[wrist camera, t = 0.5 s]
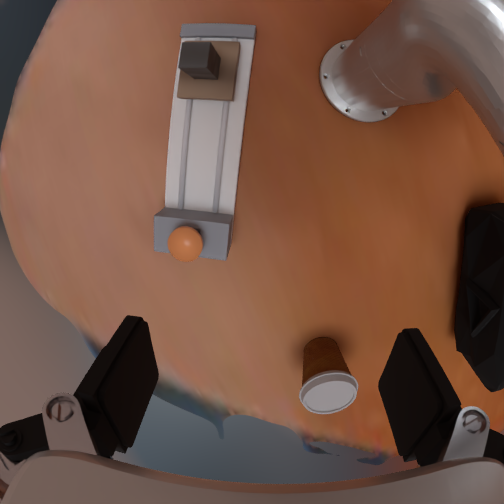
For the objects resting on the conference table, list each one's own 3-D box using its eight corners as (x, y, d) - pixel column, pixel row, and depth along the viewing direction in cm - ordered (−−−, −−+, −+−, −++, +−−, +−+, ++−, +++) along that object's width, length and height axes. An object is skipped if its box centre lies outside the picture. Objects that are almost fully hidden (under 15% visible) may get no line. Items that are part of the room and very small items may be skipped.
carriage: (188, 44, 31) (167, 23, 23) (240, 46, 31) (233, 22, 23) (181, 98, 34) (157, 90, 26) (233, 101, 34) (223, 91, 26)
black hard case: (480, 326, 49) (525, 384, 30) (438, 342, 50) (479, 410, 32) (496, 192, 38) (573, 229, 19) (449, 201, 39) (531, 246, 21)
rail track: (186, 29, 32) (174, 15, 26) (256, 31, 32) (254, 15, 26) (167, 236, 44) (154, 250, 39) (231, 244, 44) (226, 260, 39)
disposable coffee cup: (328, 321, 49) (341, 369, 38) (354, 350, 51) (369, 397, 40) (284, 348, 51) (287, 398, 40) (313, 374, 54) (320, 422, 43)
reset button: (173, 220, 37) (167, 226, 34) (206, 224, 37) (202, 230, 34) (172, 252, 38) (167, 259, 36) (204, 256, 38) (201, 264, 36)
